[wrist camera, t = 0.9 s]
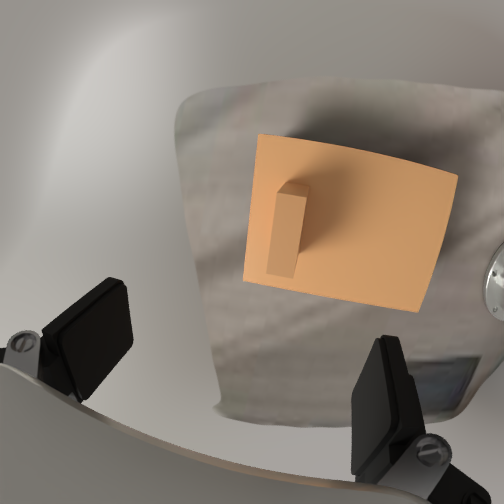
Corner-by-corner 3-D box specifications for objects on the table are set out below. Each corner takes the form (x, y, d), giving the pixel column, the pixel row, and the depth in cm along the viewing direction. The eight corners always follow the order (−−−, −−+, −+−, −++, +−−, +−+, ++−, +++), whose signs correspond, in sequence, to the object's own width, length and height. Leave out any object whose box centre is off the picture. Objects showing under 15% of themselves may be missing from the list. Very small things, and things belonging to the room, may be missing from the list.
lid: (448, 172, 23) (485, 185, 16) (412, 300, 28) (430, 343, 21) (263, 134, 26) (242, 133, 19) (248, 270, 31) (227, 308, 24)
